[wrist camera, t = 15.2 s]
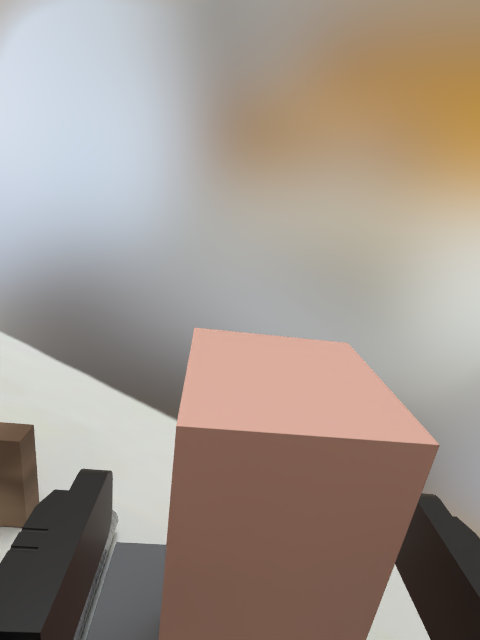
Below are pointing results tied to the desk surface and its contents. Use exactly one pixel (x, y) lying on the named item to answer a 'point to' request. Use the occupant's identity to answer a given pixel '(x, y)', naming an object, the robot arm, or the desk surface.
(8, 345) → the desk surface
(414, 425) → the tall pink rectangular block
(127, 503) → the desk surface
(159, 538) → the desk surface
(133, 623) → the mat
